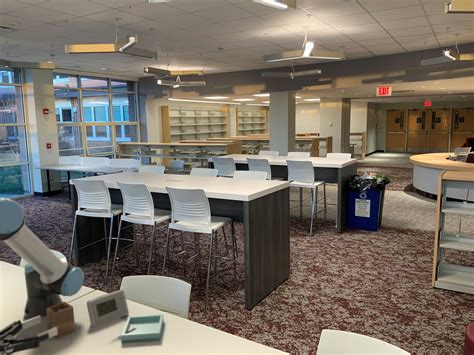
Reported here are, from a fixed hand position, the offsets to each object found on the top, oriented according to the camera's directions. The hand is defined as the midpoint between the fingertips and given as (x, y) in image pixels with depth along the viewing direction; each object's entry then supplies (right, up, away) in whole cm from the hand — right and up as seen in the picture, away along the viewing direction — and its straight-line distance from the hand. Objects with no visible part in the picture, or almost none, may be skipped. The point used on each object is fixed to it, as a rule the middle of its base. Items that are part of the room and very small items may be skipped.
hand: (48, 324), depth 141 cm
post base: (+3, -6, +5) cm, 8 cm away
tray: (+34, -5, +6) cm, 35 cm away
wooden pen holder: (+3, -5, +5) cm, 7 cm away
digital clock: (+17, -5, +16) cm, 24 cm away
